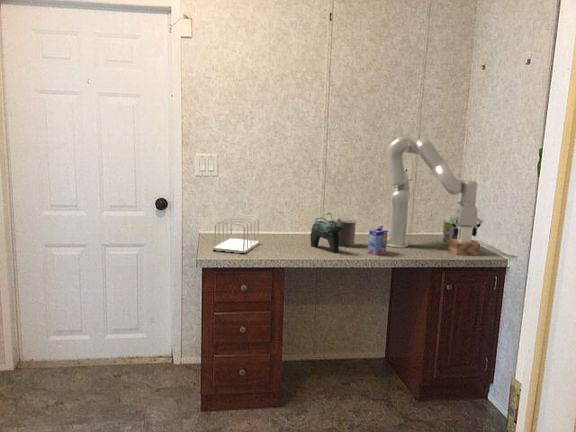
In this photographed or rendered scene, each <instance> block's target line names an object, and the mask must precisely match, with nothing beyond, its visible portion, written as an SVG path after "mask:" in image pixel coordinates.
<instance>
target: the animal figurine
mask: <svg viewBox="0 0 576 432" xmlns="http://www.w3.org/2000/svg"><path fill="white" fill-rule="evenodd" d="M326 215H327V216H328V215H330V220H327V219H326V218H324V217H322V219H321V217H317V218H316V219H315V221H314V223H313V224H312V227H311V233H310V247H312V248H318V247H319V244H320V243H319V242H320V240H321V238H322V239H324V240H326V241H327V242H328V244H329V245H328V246H329V252H330V253H334V254H335V253H339V251H340V248H339V247H340V246H339V234H338V232H340V231H341V230H342V228H343V224H342V222H341V221H340V220H341V218H338V219H335V218H333V217H332V213H331V212H327V214H326ZM319 219H321V220H319Z"/></svg>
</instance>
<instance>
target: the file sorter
mask: <svg viewBox="0 0 576 432" xmlns="http://www.w3.org/2000/svg"><path fill="white" fill-rule="evenodd" d="M254 218H256V219H257V234H256V220H255V219H254ZM251 220H252V221H253V225H252V222H251ZM246 221H247V222H249V223H250V225H249V224H248V223H247V222H246ZM242 223H244V224H246V227H245V226H244V224H242ZM220 224H222V242H221V237H220V236H221V235H220V234H221V233H220V232H221V231H220V227H221V226H220ZM225 225H226V240H225V229H224V228H225ZM228 225H230V238H228V237H229V232H228V231H229V226H228ZM233 225H234V226H240V227H241V226H242V228H243V238H241V239H240V238H232V237H233V236H232V232H233V231H232V230H233V227H232V226H233ZM217 226H218V244H216V243H217V242H216V241H217ZM249 226H250V239H249ZM259 227H260V219H259V217H258V216H256V215H248V214H233V215H231V216H228V217H227V218H224V219H222V220H220V221H217V222H216V223H215V225H214V246H213V247H212V251H213V250H216V251H215V252H221V251H225V252H224V253H230V252H234V253H233V254H239V253H246V252H247V253H249V252H250V251H252V250H253V249H254V248H256V247H257V246H259V245H260V244H261V242H260V240H259V233H260V232H259V230H260V229H259ZM252 230H253V231H252ZM252 232H253V233H252ZM252 234H253V239H252ZM256 235H257V236H256ZM256 238H257V239H256ZM258 244H259V245H258ZM251 249H252V250H251ZM248 251H249V252H248ZM247 253H246V254H247Z"/></svg>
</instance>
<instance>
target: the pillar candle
mask: <svg viewBox="0 0 576 432" xmlns="http://www.w3.org/2000/svg"><path fill="white" fill-rule="evenodd" d="M340 221H341V222H342V224H343V228H342V230H341V231H340V232H338V234H339V247H341V248H353V247H354V246H355V237H356V236H355V235H356V220H352V219H340Z"/></svg>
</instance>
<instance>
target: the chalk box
mask: <svg viewBox="0 0 576 432" xmlns="http://www.w3.org/2000/svg"><path fill="white" fill-rule="evenodd" d="M451 219H453V217H452V216H450V220H451ZM450 220H443V223H442V224H443V225H442V227H443V228H442V238H441V239H442V241H443V243H449V239H457V238H458V236H455V235H454V227H453V226H452V225H451V222H450ZM454 224H456V220H455V221H454Z"/></svg>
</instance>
